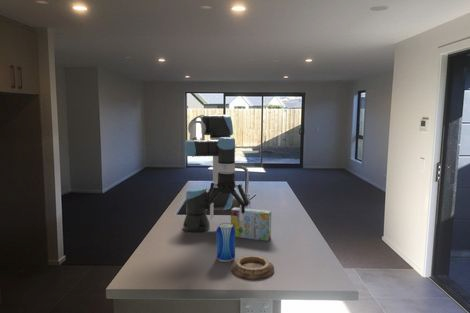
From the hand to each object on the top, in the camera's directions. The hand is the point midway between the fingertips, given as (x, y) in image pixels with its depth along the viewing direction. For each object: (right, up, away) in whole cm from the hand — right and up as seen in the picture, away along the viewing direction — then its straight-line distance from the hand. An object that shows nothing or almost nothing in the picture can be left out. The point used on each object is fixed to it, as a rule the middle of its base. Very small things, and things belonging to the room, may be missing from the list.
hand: (226, 219), depth 158 cm
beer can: (0, -19, +2) cm, 19 cm away
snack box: (+12, -15, +30) cm, 36 cm away
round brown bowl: (+11, -20, -8) cm, 24 cm away
